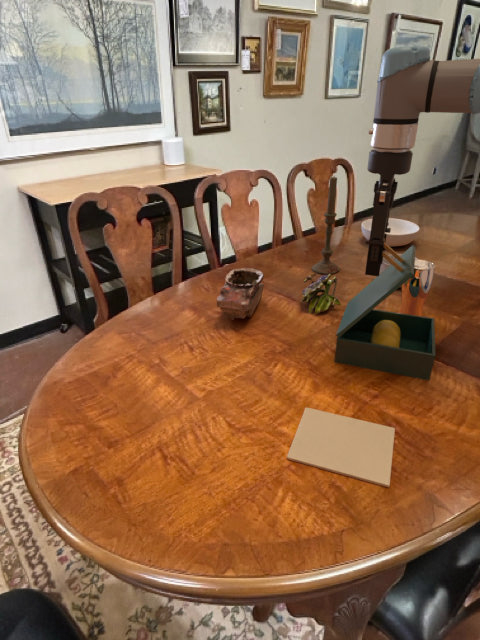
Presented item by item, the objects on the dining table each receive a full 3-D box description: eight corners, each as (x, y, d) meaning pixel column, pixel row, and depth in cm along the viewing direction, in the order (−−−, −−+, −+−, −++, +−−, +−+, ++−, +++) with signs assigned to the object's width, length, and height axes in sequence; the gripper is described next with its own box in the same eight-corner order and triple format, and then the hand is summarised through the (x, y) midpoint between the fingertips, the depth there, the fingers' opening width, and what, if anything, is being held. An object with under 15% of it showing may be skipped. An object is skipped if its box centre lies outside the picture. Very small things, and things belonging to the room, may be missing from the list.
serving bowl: (355, 248, 156) (357, 230, 152) (363, 232, 172) (365, 215, 169) (414, 255, 148) (418, 236, 145) (417, 237, 165) (420, 220, 162)
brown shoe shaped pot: (281, 300, 119) (282, 268, 114) (256, 334, 103) (256, 299, 98) (238, 293, 123) (237, 263, 119) (208, 325, 107) (206, 291, 103)
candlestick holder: (321, 276, 133) (329, 179, 119) (306, 266, 141) (312, 174, 126) (345, 272, 136) (356, 176, 122) (329, 262, 144) (338, 171, 129)
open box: (428, 342, 98) (434, 318, 95) (428, 382, 85) (435, 355, 82) (345, 328, 105) (348, 305, 101) (334, 364, 91) (336, 338, 88)
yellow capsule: (372, 335, 100) (376, 313, 97) (398, 340, 98) (403, 317, 96) (366, 362, 91) (370, 339, 88) (395, 368, 89) (400, 344, 86)
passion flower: (307, 319, 120) (311, 278, 122) (345, 320, 115) (348, 278, 116) (293, 312, 110) (297, 268, 112) (333, 314, 105) (337, 267, 107)
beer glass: (405, 309, 113) (416, 257, 106) (429, 319, 108) (442, 265, 101) (389, 317, 109) (399, 263, 102) (413, 327, 104) (425, 272, 97)
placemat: (394, 430, 74) (395, 427, 73) (389, 487, 63) (389, 485, 63) (305, 409, 79) (305, 406, 79) (286, 459, 68) (286, 457, 68)
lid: (415, 247, 89) (387, 221, 89) (413, 275, 76) (380, 245, 76) (350, 304, 101) (324, 282, 101) (338, 337, 88) (309, 311, 88)
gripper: (375, 142, 84) (361, 251, 96) (363, 156, 69) (348, 284, 80) (414, 143, 82) (395, 255, 93) (411, 157, 66) (389, 289, 78)
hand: (373, 268), depth 87 cm, fingers closed on lid, 6 cm apart
